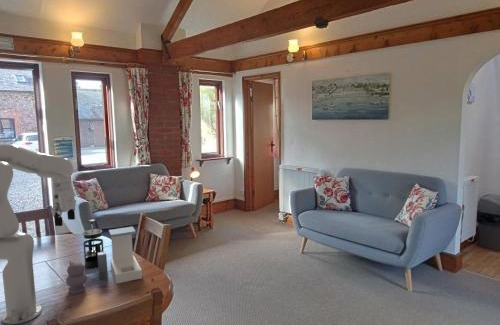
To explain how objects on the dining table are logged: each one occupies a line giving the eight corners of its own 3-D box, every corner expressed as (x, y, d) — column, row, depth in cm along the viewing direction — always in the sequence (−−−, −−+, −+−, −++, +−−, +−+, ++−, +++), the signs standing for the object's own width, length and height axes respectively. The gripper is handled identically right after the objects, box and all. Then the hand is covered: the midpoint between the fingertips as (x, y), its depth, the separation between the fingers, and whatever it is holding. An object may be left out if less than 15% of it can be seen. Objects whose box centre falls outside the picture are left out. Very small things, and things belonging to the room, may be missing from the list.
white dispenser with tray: (142, 278, 165) (139, 237, 163) (116, 283, 160) (113, 241, 158) (134, 263, 182) (132, 225, 179) (110, 267, 177) (108, 229, 174)
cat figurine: (90, 290, 155) (88, 263, 153) (71, 296, 149) (68, 268, 147) (83, 283, 161) (81, 257, 159) (64, 289, 155) (61, 262, 154)
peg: (107, 279, 164) (106, 253, 163) (99, 281, 163) (98, 255, 161) (107, 276, 167) (105, 251, 166) (99, 278, 166) (97, 252, 164)
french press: (81, 264, 181) (77, 219, 178) (99, 259, 187) (97, 215, 184) (90, 271, 173) (86, 224, 170) (109, 265, 179) (106, 220, 176)
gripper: (58, 189, 155) (61, 228, 158) (80, 182, 172) (83, 217, 175) (42, 189, 156) (45, 228, 158) (65, 182, 173) (68, 217, 175)
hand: (65, 222), depth 166 cm, fingers open, 9 cm apart
